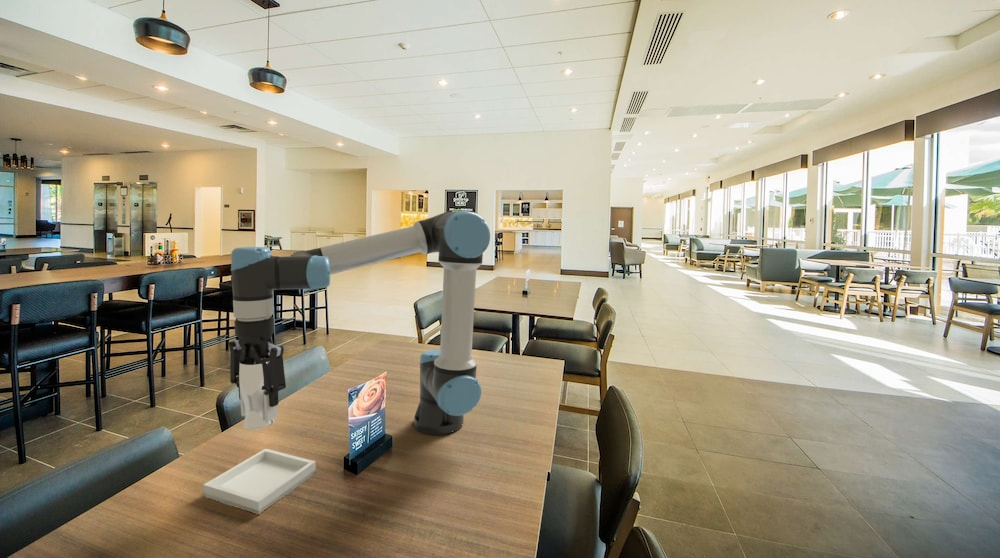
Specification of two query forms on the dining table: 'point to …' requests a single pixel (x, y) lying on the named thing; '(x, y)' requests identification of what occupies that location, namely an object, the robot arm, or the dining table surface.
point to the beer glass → (253, 395)
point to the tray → (260, 480)
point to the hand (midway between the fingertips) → (259, 416)
